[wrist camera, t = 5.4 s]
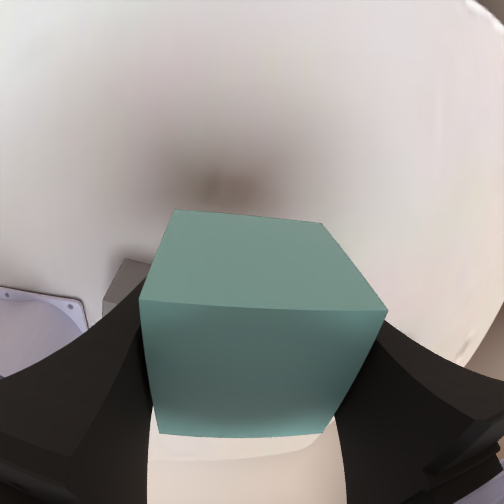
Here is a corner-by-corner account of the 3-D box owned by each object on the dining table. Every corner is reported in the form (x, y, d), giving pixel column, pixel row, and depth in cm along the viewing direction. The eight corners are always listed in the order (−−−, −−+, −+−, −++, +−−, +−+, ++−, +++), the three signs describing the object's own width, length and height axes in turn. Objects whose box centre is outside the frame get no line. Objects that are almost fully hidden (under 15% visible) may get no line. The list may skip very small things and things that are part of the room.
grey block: (120, 312, 21) (103, 358, 17) (125, 257, 19) (102, 300, 15) (181, 327, 22) (175, 376, 18) (194, 274, 20) (189, 321, 16)
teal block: (173, 327, 12) (159, 433, 7) (174, 209, 10) (138, 299, 5) (292, 333, 12) (322, 432, 8) (321, 223, 10) (388, 310, 6)
